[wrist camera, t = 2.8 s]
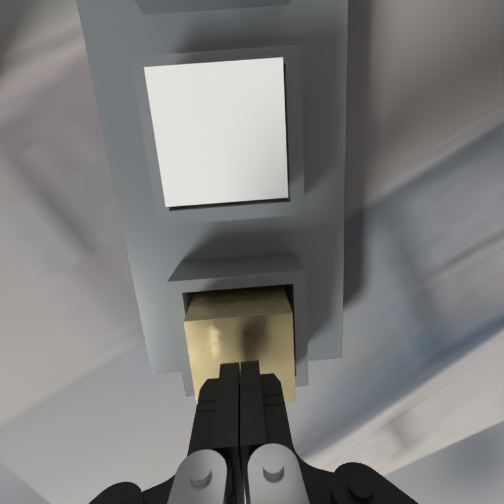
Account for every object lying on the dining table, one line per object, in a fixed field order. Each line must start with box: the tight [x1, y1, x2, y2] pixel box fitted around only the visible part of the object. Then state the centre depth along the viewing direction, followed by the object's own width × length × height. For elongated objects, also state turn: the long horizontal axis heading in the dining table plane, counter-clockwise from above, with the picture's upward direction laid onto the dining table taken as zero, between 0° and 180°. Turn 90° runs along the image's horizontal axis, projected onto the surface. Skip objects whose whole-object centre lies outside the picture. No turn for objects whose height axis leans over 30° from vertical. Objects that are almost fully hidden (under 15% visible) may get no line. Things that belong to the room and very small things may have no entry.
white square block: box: [144, 57, 288, 207], centre depth 11 cm, size 4×4×3 cm
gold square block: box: [184, 285, 296, 405], centre depth 14 cm, size 4×4×3 cm
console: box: [77, 0, 348, 396], centre depth 15 cm, size 12×26×7 cm, turn 4°
